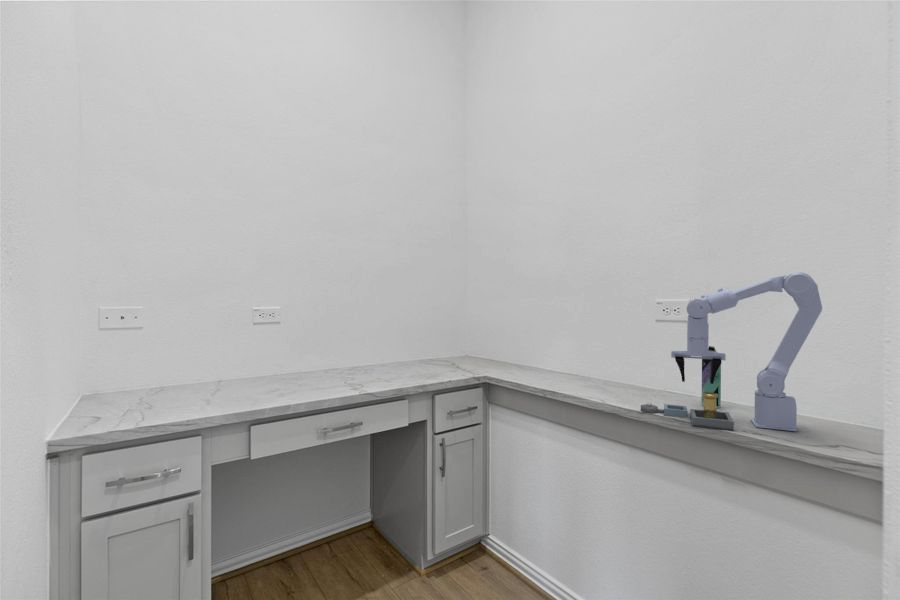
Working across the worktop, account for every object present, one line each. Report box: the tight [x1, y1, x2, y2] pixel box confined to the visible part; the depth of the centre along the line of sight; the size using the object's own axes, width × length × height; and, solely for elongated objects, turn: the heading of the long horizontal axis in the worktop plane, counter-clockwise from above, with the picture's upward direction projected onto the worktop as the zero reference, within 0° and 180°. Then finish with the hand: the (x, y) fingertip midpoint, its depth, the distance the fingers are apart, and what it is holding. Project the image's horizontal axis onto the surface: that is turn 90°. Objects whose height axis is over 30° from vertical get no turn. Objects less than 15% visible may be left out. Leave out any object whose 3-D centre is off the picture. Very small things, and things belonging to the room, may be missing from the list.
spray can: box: [701, 345, 722, 410], centre depth 148 cm, size 6×6×20 cm
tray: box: [689, 408, 735, 431], centre depth 130 cm, size 10×10×2 cm
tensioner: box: [640, 402, 689, 418], centre depth 141 cm, size 13×6×2 cm, turn 65°
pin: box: [701, 392, 718, 419], centre depth 130 cm, size 4×4×8 cm
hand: (697, 382), depth 138 cm, fingers open, 7 cm apart
